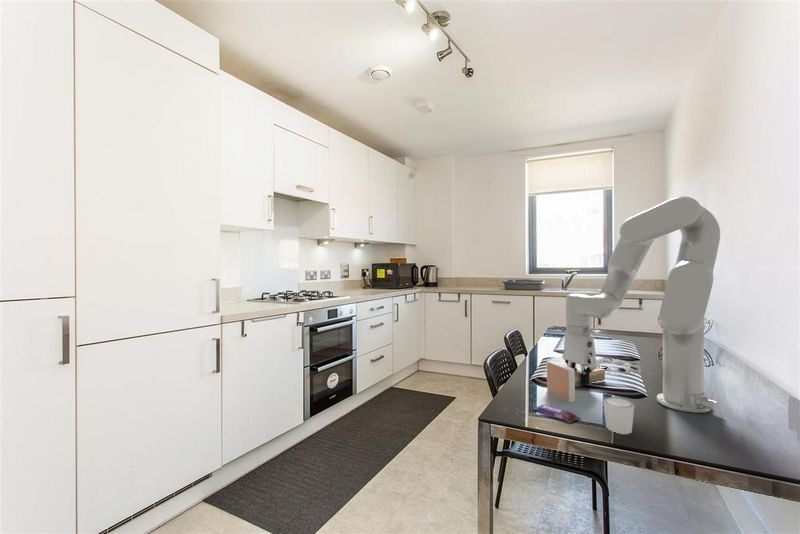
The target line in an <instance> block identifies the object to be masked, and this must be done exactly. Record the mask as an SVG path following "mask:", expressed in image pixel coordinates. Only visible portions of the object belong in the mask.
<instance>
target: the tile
mask: <svg viewBox="0 0 800 534" xmlns="http://www.w3.org/2000/svg"><path fill="white" fill-rule="evenodd" d="M546 389H547V390H546V391H547V392H548V393H550V394H552V395H555V396H556V397H558V398H561V399H563V400H564V401H566V402H568V403H573V402H576V388H575V369H573V368H571V367H568V366H567V365H566V364H565V365H564V364H563V363H560V362H557V361H554V360H547V361H546Z"/></svg>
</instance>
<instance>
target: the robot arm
mask: <svg viewBox="0 0 800 534" xmlns="http://www.w3.org/2000/svg"><path fill="white" fill-rule="evenodd" d="M678 230H679V231H680V233H681V241H680V245H679V249H678V255H677V256H676V257H677V258H676V262H675V264H674V266H673V268H672V269H671V270H670V272H669V274H668V276H667V281H666V284H665V290H664V292H663V297H662V301H661V305H660V310H659V316H658V317H659V318H658V319H659V321H660V324H661V325H662V392H661V393H658V394H657V395H656V401H657V402H658V403H659V404H660V405H662V406H665V407H666V408H669V409H673V410H676V411H681V412H686V413H695V414H696V413H697V414H702V413H708V412H711V411H713V412H716V411H718V407H719V402H718V401H716V400H712V399H709V393H707V392H705V377H704V376H705V369H704V367H705V366H704V365H705V363H704V362H705V361H704V360H705V358H704V354H705V338H704V337H705V315H706V311H707V307H708V304H709V300H710V297H711V293H712V289H713V284H714V268H715V264H716V260H717V255H718V251H719V246H720V241H721V230H720V225H719V222H718V220H717V218H716V217H715V215H714V214H713V213H712V212H711V211H709V210H708V209H707V208H705V207H703V206H702V205H701V204H700V203H699V201H698V200H696V199H695V198H693V197H690V196H676V197H673V198H671V199H668V200H666V201H664V202H662V203H660V204H657V205H656V206H653V207H651V208H649V209H647V210H645V211H642V212H640V213H637V214H636V215H634V216H631V217H628V218H627V219H626V220H625V221H624V222H623V223H622V224H621V226H620V228H619V235H620V237H619V240H618V242H617V244H616V246H615V248H614V249H613V252H612V254H611V256H610V258H609V260H608V262H607V274H606V278H605V281H604V283H603V284H602V287H601V289H600V291H599V293H598V294H597V295H588V294H585V293H570V294H567V295H566V298H565V318H566V319H565V326H566V327H565V330H566V331H565V335H564V342H563V354H562V355H561V358H562V359H563V360H564V361H565V363H566V364H565V365H566V366H568V367H571V368H573V369H575V371H578V368H577V365H579V366H580V370H581V371H582V374H580V380H581V385H582V386H581V387H584V386H589V374H590V373H591V372H592V371H593V370H594V369H596V368H597V366H596V364H595V363H596V357H597V356H596V347H595V340H594V336H593V335H591V333H592V332H593V330H592V329H591V325H592V324H591V317H592V318H596V319H607V318H609V317H610V316H612V315H614V314H615V313H616V312H617V311H619V309H620V308H621V305H622V304H623V302H624V300H625V297H626V296H627V293H628V291H629V290H630V287H631V285H632V284H633V281H634V279H635V278H636V275H637V273H638V272H639V269H640V267H641V265H642V263H643V262H644V259H645V257H647V254H648V252H649V251H650V248H651V247H652V245H653V242H654V240H656V239H659V238H661V237H664V236H666V235H669V234H671V233H673V232H675V231H678Z"/></svg>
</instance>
